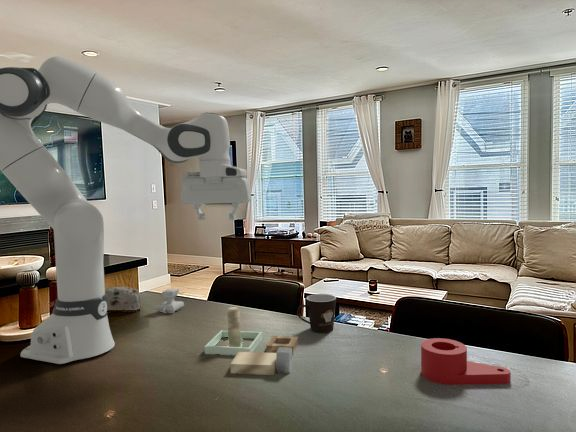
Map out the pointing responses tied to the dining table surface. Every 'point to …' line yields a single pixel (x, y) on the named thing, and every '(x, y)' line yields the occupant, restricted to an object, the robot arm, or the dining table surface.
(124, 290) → the stone
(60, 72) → the robot arm
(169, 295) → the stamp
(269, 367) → the tan rectangular slab
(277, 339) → the socket block
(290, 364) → the gray rectangular block
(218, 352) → the tray
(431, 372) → the lever
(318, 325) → the coffee mug
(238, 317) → the dowel
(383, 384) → the dining table surface
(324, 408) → the dining table surface
